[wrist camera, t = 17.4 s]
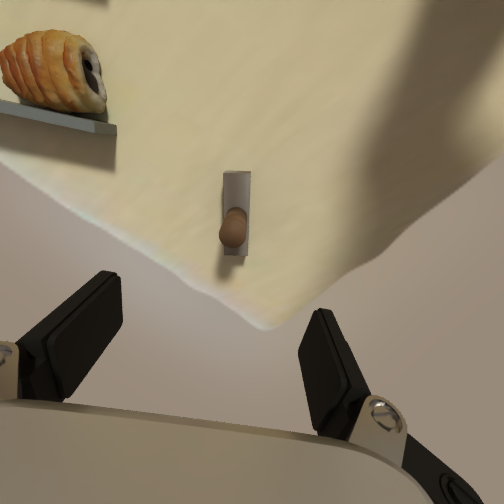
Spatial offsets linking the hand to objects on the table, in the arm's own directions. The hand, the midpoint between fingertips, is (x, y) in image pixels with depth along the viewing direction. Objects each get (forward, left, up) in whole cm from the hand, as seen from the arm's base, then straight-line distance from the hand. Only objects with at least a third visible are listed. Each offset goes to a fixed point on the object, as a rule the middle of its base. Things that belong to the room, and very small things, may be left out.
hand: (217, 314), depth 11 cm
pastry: (+20, -10, -21) cm, 31 cm away
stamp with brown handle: (0, 0, -21) cm, 21 cm away
